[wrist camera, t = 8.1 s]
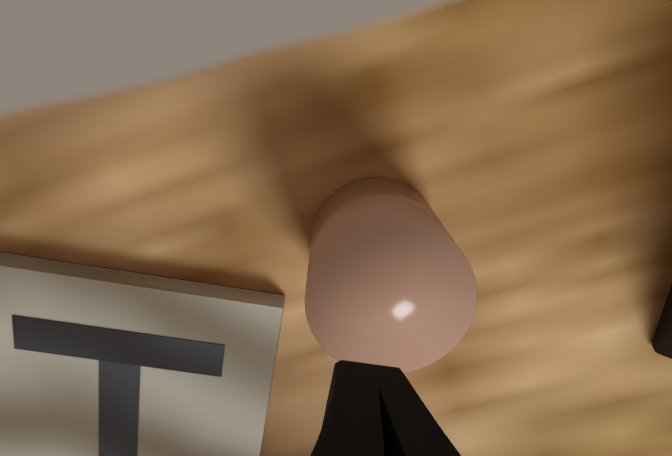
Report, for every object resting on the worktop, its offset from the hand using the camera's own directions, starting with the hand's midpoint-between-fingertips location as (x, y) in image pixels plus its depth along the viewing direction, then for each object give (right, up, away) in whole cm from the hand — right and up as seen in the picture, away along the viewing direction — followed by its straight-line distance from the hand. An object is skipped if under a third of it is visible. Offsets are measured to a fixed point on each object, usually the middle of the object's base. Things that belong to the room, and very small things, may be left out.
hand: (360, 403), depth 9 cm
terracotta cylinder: (+1, +3, +8) cm, 9 cm away
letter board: (-10, -6, +11) cm, 16 cm away
